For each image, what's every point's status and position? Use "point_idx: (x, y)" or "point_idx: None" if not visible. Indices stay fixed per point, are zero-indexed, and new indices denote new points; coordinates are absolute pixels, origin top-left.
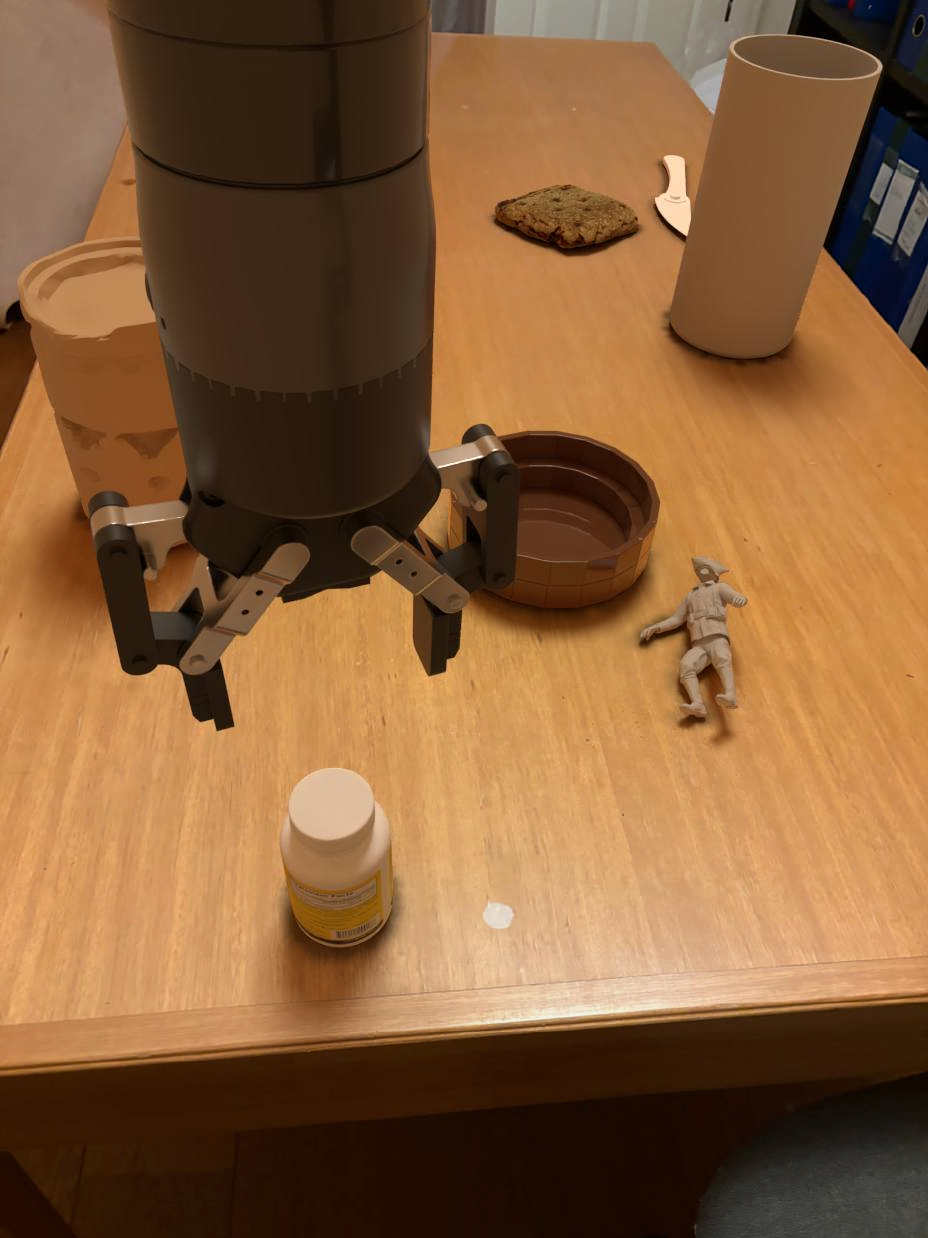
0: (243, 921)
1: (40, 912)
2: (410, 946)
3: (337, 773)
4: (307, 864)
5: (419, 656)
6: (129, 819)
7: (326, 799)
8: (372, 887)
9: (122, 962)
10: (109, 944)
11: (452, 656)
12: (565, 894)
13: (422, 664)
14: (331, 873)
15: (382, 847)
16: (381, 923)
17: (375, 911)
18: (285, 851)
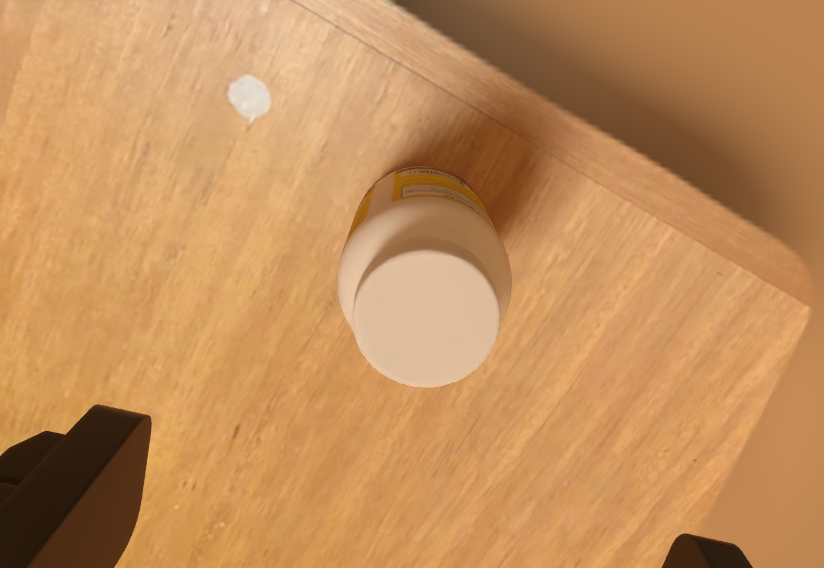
0: (539, 277)
1: (725, 414)
2: (377, 128)
3: (388, 364)
4: (493, 261)
5: (140, 484)
6: (585, 468)
7: (430, 331)
8: (409, 191)
9: (681, 309)
10: (682, 337)
11: (48, 436)
12: (146, 67)
13: (146, 459)
14: (469, 228)
15: (375, 224)
16: (398, 171)
17: (407, 177)
18: (506, 300)
